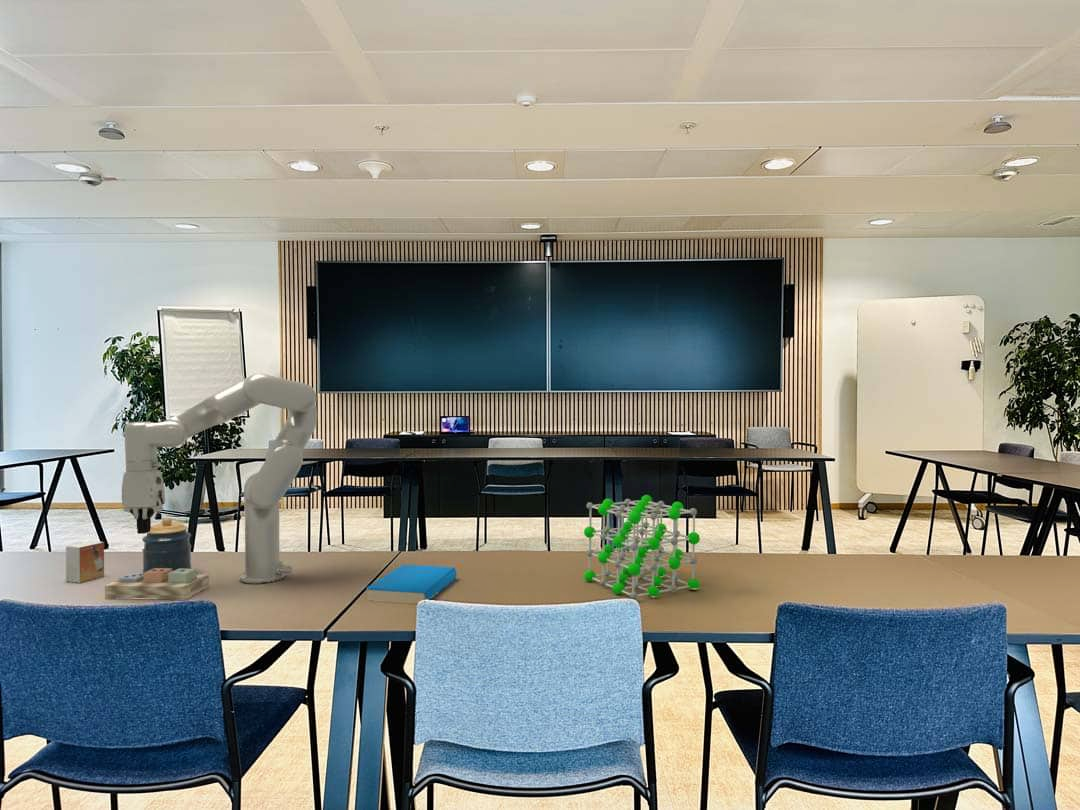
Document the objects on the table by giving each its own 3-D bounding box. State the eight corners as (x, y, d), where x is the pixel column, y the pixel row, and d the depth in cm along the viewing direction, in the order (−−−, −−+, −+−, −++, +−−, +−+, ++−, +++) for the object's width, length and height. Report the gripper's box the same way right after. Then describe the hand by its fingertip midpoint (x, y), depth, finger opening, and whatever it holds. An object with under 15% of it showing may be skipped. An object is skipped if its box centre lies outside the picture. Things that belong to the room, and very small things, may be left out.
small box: (79, 583, 197) (78, 547, 196) (65, 581, 198) (64, 546, 198) (105, 576, 204) (104, 541, 204) (91, 574, 206) (91, 540, 206)
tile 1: (196, 579, 190) (196, 568, 189) (186, 584, 185) (186, 572, 184) (179, 579, 190) (179, 567, 190) (168, 584, 185) (168, 572, 185)
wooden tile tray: (208, 587, 193) (208, 574, 193) (184, 600, 181) (184, 586, 181) (134, 585, 194) (133, 573, 194) (104, 598, 182) (104, 585, 182)
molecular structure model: (646, 570, 212) (647, 493, 211) (702, 591, 190) (703, 505, 190) (581, 581, 200) (581, 499, 200) (633, 604, 178) (633, 513, 178)
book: (365, 588, 181) (402, 563, 205) (366, 604, 181) (402, 577, 206) (426, 591, 178) (456, 565, 202) (427, 607, 178) (456, 580, 202)
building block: (148, 584, 190) (148, 572, 190) (136, 589, 185) (136, 577, 185) (131, 583, 191) (130, 572, 191) (119, 589, 186) (118, 577, 186)
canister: (163, 569, 213) (163, 513, 212) (200, 571, 210) (200, 514, 210) (132, 580, 200) (131, 520, 199) (171, 582, 198) (170, 522, 197)
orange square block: (172, 579, 190) (172, 567, 190) (161, 584, 185) (161, 572, 185) (155, 578, 190) (154, 567, 190) (143, 583, 185) (143, 572, 185)
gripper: (175, 464, 190) (178, 529, 191) (125, 465, 191) (127, 529, 192) (158, 468, 183) (161, 535, 183) (106, 468, 184) (108, 535, 185)
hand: (144, 532), depth 188 cm, fingers closed
